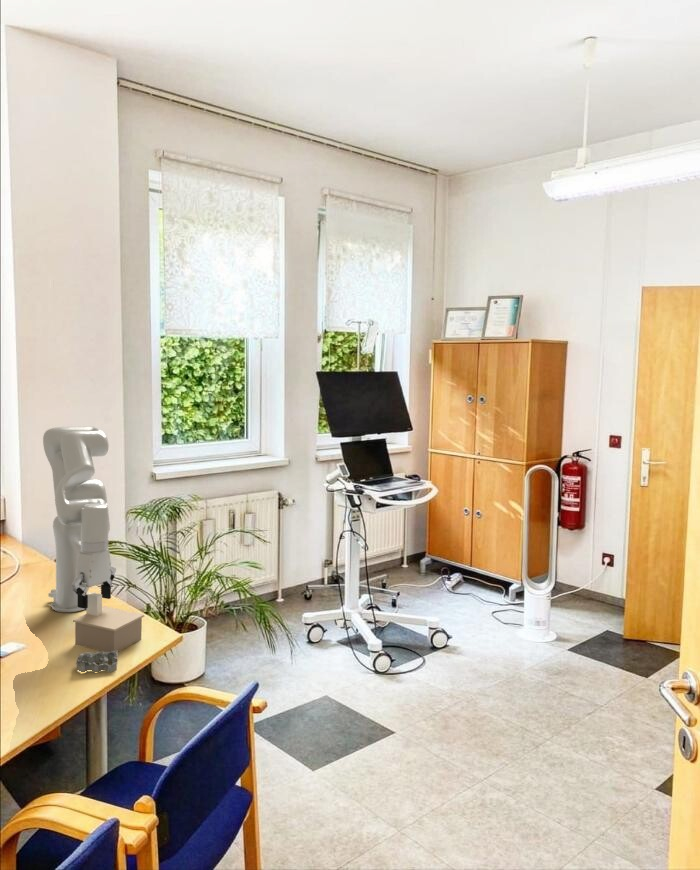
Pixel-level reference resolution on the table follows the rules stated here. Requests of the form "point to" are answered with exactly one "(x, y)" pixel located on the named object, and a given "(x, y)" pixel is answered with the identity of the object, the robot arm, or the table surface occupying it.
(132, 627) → the carton
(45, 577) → the table surface
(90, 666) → the egg carton
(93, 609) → the lid
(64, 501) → the robot arm
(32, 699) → the table surface
